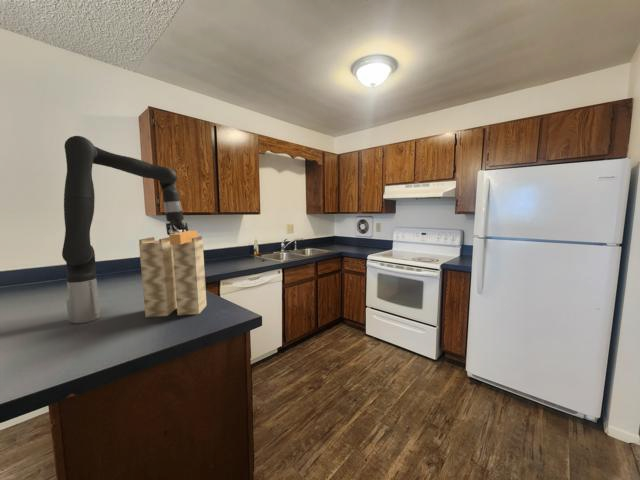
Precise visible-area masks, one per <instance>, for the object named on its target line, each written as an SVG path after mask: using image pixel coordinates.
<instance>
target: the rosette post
mask: <svg viewBox="0 0 640 480" xmlns="http://www.w3.org/2000/svg"><path fill="white" fill-rule="evenodd" d="M138 241H139V243H138V247H139V248H138V249H139V258H140V259H139V261H140V269H141V271H140V272H141V281H142V282H141V283H142V292H143V293H142V294H143V301H144V302H143V305H144V313H145V314H144V315H145V318H153V317H155V318H157V317H169V316H170V315H171V314H172V313H173V312H174V311H175V310H177V302H176V288H175V275H174V262H173V248H172V245H170V237H169V236H167V237H164V238H160V239H157V240H155V237H154V236H152V237H147V238H142V239H139V240H138Z"/></svg>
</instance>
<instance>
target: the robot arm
mask: <svg viewBox="0 0 640 480" xmlns="http://www.w3.org/2000/svg"><path fill="white" fill-rule="evenodd" d="M64 152H65V153H64V154H65V161H66V175H65V183H64V191H63V192H64V194H63V219H64V226H65V232H64V239H63V240H64V241H63V245H62V251H61V255H62V256H61V257H62V259H63V260H64V261H65V263H66V264H65V265H66V273H65V274H66V275H65V279H66V286H67V293H68V294H67V295H68V299H66V310H67V317H68V323H72V324H85V323H89V322H92V321H95V320H98V319H99V318H101V309H100V299H99V298H100V297H99V289H98V281H97V267H96V266H97V265H96V254H95V250H94V247H93V245H91V244H92V243H91V233H90V232H91V226H92V224H93V219H94V215H95V201H96V199H95V187H94V181H93V180H94V179H93V175H92V172H93V165H99V166H104V167H108V168H110V169H111V168H112V169H116V170H119V171H121V172H124V173H125V172H126V173H128V174H131V175H134V176H137V177H141V178H145V179H151V180H155V181H158V182H159V186H160V188H161V192H162V199H163V208H164V213H165V220H166V223H165V227H166V229H165V230H166V235H168V236H169V235H170V234H175V233H180V232H185V231H189V228H188V223H187V222H183V220H184V211H183V206H182V204H181V203H182V202H181V198H180V193H179V191H178V189H177V184H176V181H177V179H178V174H177V173H176V171H175V170H174V169H172V168H169V167H166V166H160V165H158V164H157V165H156V164H152V163H151V162H150V163H149V162H147V161H144V160H141V159H137V158H135V157H130V156H126V155H121V154H116V153H113V152H109V151H107V150H104V149H102V148H99V147H98V146H95V145H94V144H93V143H92V141H91V140H89V139H88V138H86V137H84V136H81V135H73V136H70V137H69V138H67V139H66V140H65V142H64Z"/></svg>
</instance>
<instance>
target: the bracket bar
mask: <svg viewBox="0 0 640 480" xmlns="http://www.w3.org/2000/svg"><path fill="white" fill-rule="evenodd" d="M168 237H170V245H178V244H184V243H187V242H190V241H192V238H195V237H198V230H188V231H186V230H185V232H180V233H178V232H176V233H175V234H170V235H168Z"/></svg>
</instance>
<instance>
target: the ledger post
mask: <svg viewBox="0 0 640 480" xmlns="http://www.w3.org/2000/svg"><path fill="white" fill-rule="evenodd" d="M203 242H204V241H203V235H201V236H200V235H198V236H197V237H195V238H192V241H190V242H187V243H184V244H178V245H172V248H173V262H174V275H175V288H176V302H177V308H176V312H177V314H176V315H177V316H188V315H189V316H191V315H199V314H201V312H202V311H204V309H205V308H206V307H207V289H206V275H205V274H206V273H205V271H206V270H205V257H204V256H205V255H204V243H203Z"/></svg>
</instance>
